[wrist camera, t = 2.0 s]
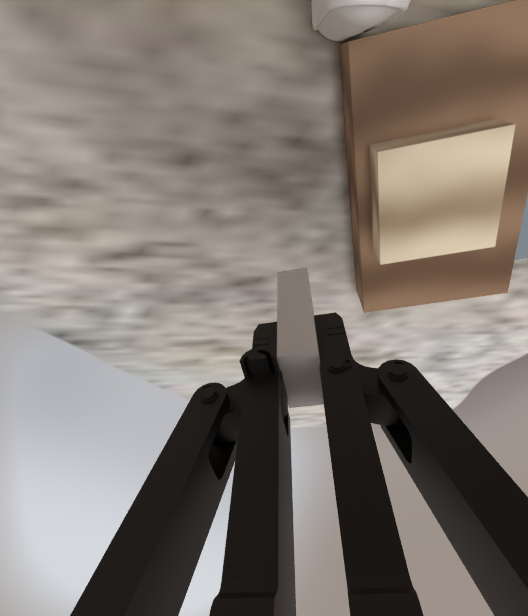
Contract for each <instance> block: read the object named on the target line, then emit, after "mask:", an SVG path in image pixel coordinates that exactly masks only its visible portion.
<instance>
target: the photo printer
mask: <svg viewBox="0 0 528 616" xmlns="http://www.w3.org/2000/svg"><path fill="white" fill-rule="evenodd" d="M410 1H411V0H312V2H311V6H312V25H313V30H319V32H320V33H321V34H322V35H323V36H324V37H326V38H328V39H330V40H333V41H344V40H347V39H350V38H352V37H354V36H355V35H357V34H359V33H361V32H367V31H369V30H371V29H373V28H375V27H376V26H379V25H380V24H382V23H384V22H387V21H388V20H390V19H393V18H395V17H397V16H399V15H401V14H403V13H404V12H406V10H407V8H408V6H409V3H410Z"/></svg>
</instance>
